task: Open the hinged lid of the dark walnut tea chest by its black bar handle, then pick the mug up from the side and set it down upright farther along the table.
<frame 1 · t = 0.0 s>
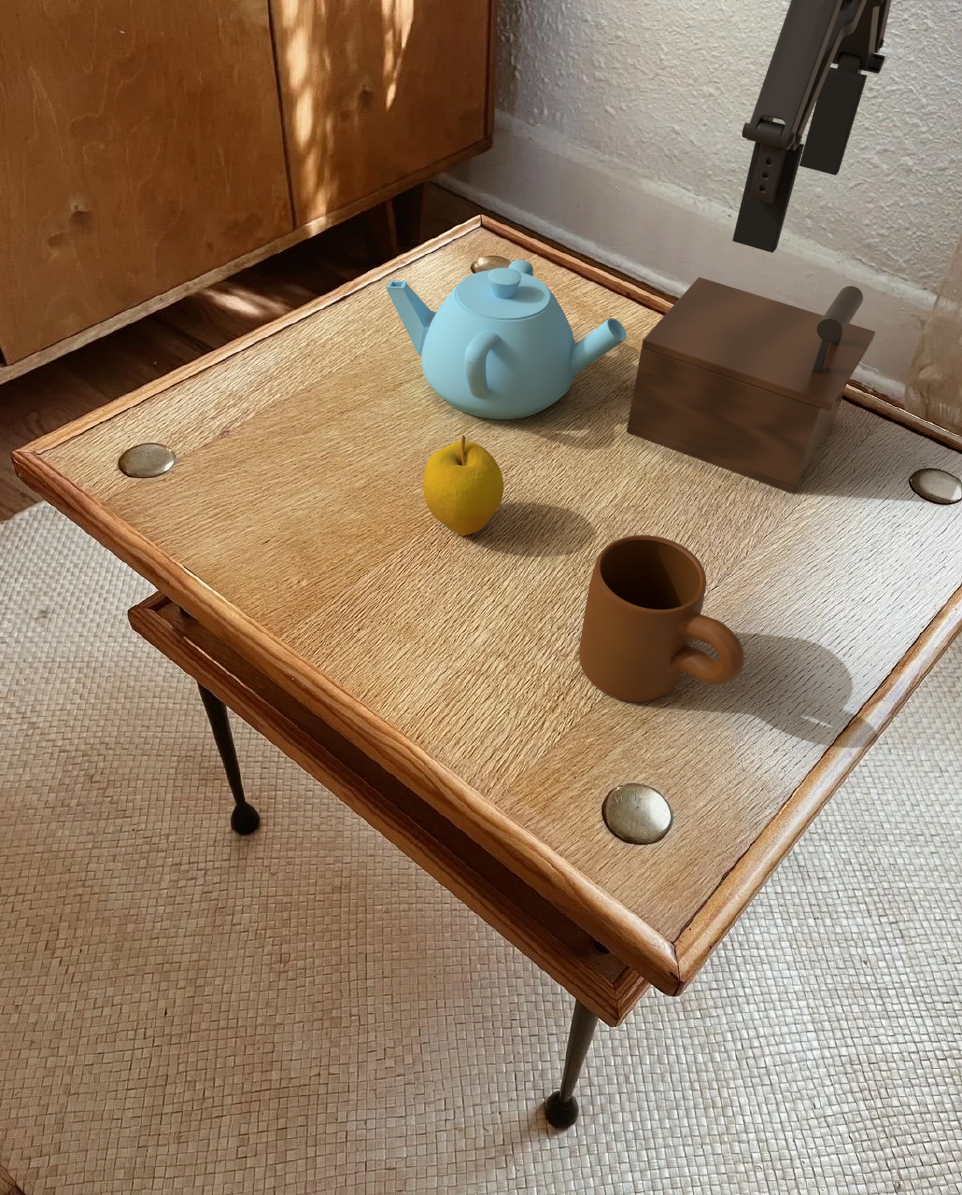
hand: (788, 205, 69), 25 cm above the table, tool pointing down, fingers open, 13 cm apart
apple: (461, 525, 84), on the table
mug: (651, 684, 73), on the table
teapot: (500, 385, 98), on the table
chest: (731, 425, 94), on the table
lid: (766, 313, 86), point 12 cm above the table, hinge at 0.0°
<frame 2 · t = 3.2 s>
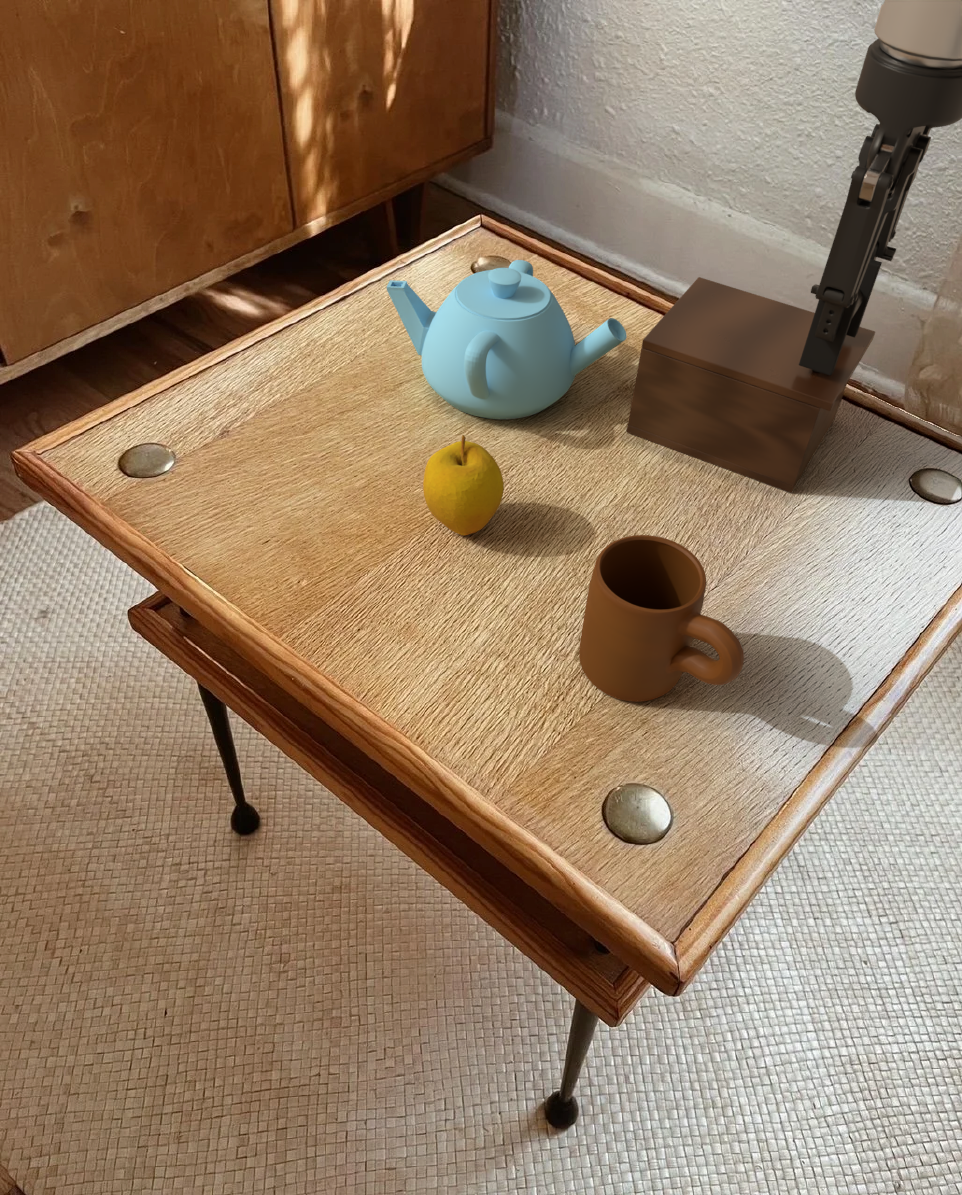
hand: (828, 348, 85), 10 cm above the table, tool pointing down, fingers closed on lid, 6 cm apart
lid: (766, 313, 86), point 12 cm above the table, hinge at 0.0°, touching gripper
everything else where it was.
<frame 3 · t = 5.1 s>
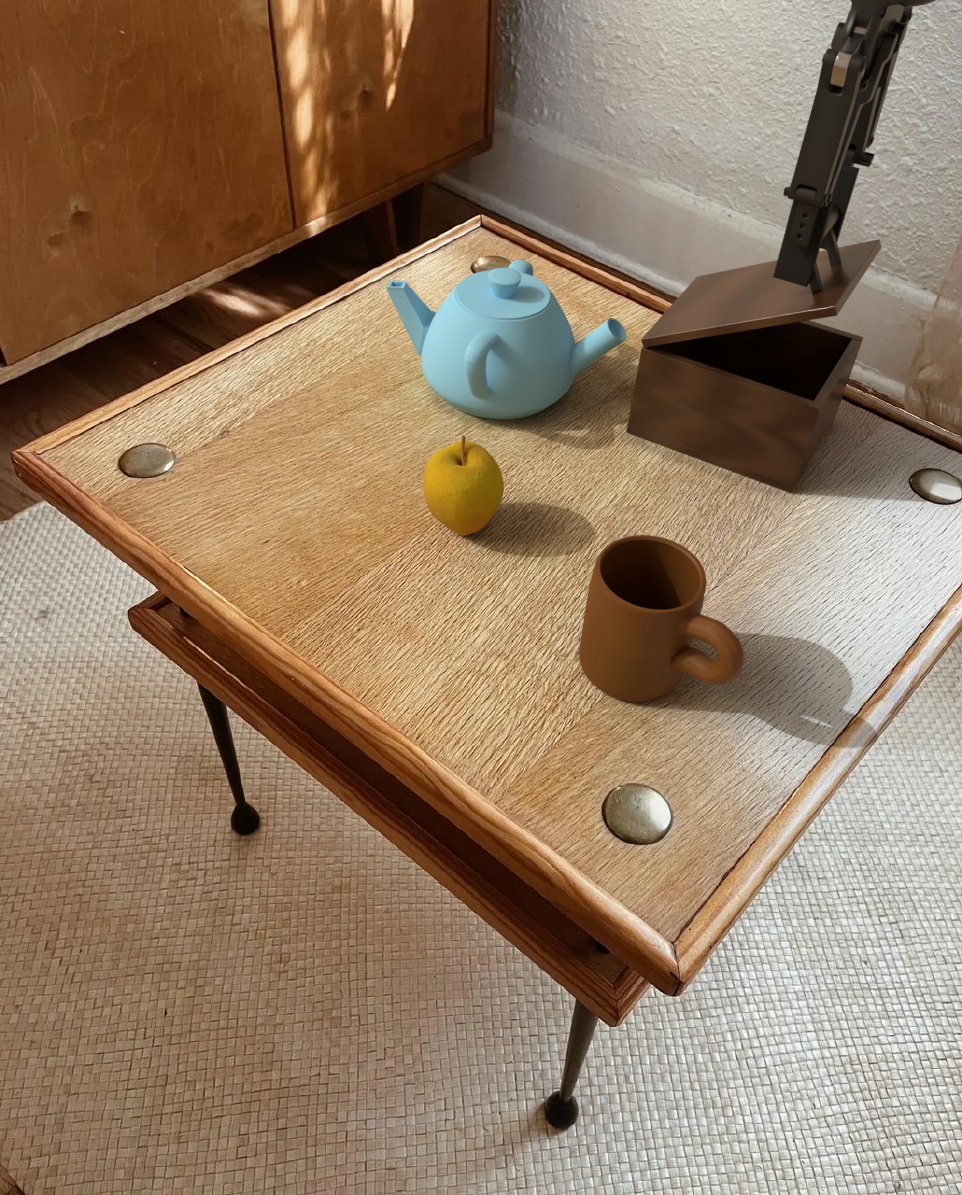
hand: (805, 261, 81), 17 cm above the table, tool pointing down, fingers closed on lid, 6 cm apart
lid: (751, 265, 84), point 15 cm above the table, hinge at 28.7°, touching gripper
everything else where it was.
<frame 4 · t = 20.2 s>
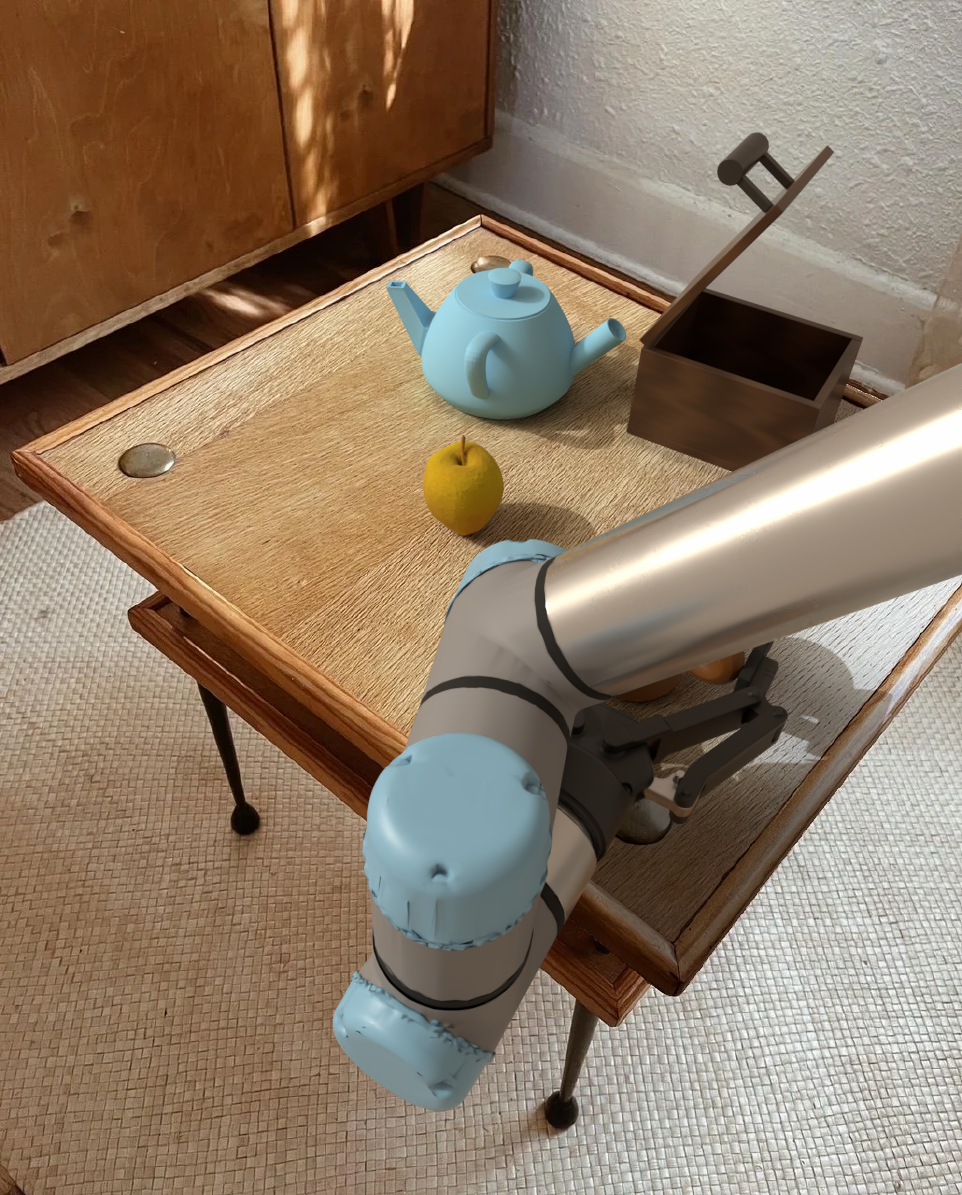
hand: (687, 592, 71), 6 cm above the table, tool horizontal, fingers closed on mug, 12 cm apart
mug: (652, 684, 73), on the table, touching gripper
lid: (712, 227, 83), point 18 cm above the table, hinge at 59.2°
everything else where it was.
when the fingers open (6 cm above the table, at t = 27.8 s): mug stays where it is, on the table.
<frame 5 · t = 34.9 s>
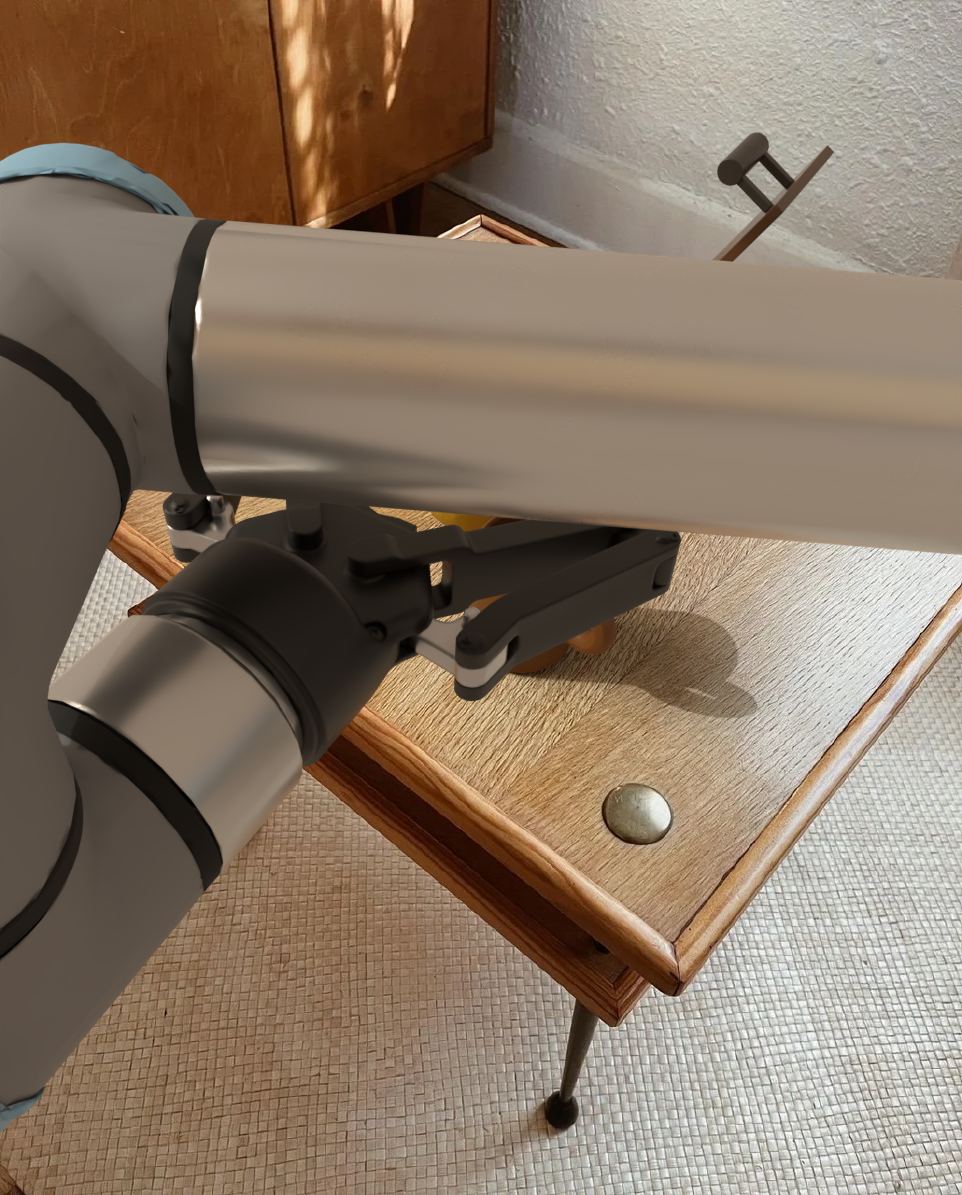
hand: (533, 377, 46), 30 cm above the table, tool horizontal, fingers open, 13 cm apart
mug: (540, 657, 74), on the table
everything else where it was.
at the end: lid at +59° (first picture: +0°); mug inside the target area (0.1 cm from its centre), on the table; mug tilted 0° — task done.
